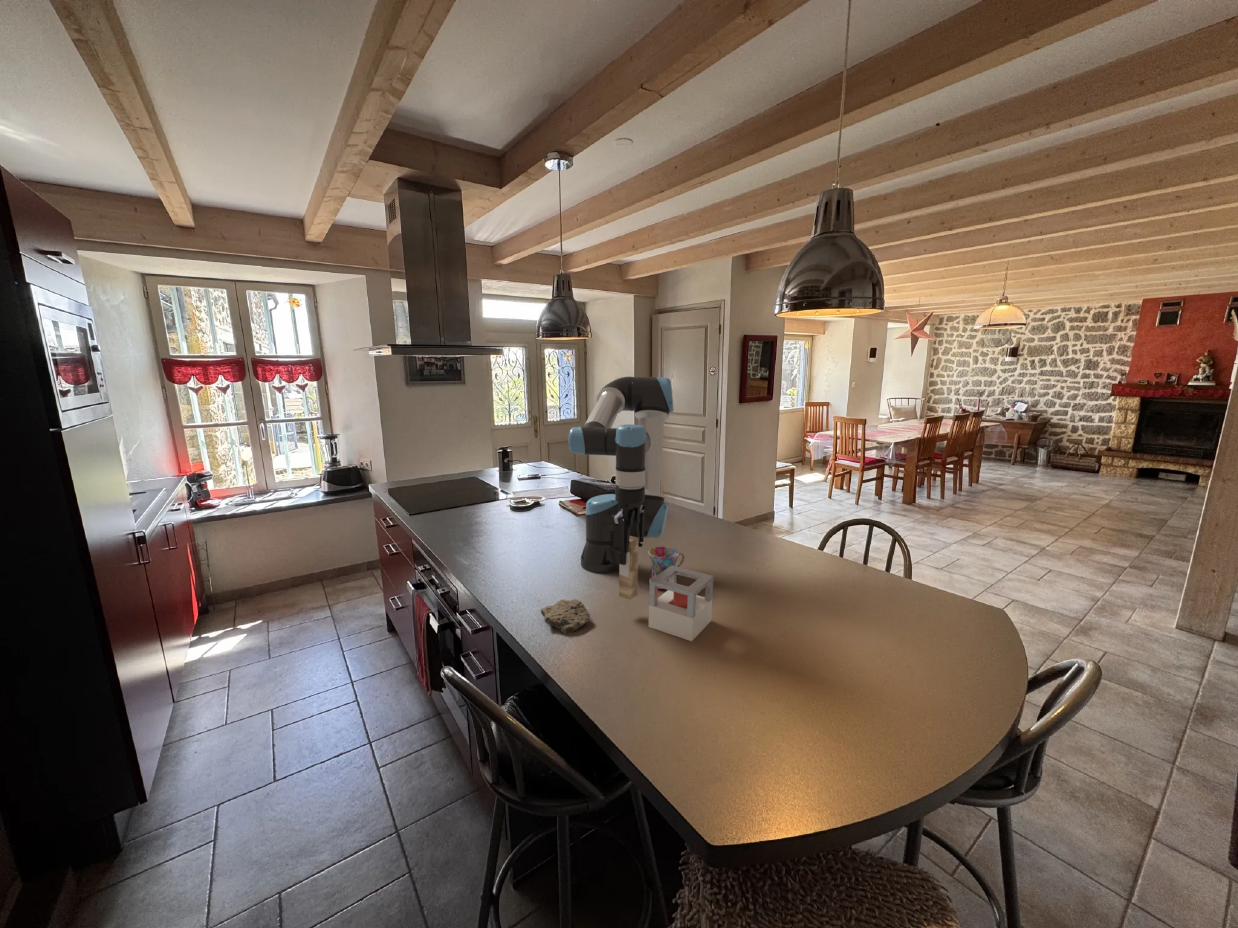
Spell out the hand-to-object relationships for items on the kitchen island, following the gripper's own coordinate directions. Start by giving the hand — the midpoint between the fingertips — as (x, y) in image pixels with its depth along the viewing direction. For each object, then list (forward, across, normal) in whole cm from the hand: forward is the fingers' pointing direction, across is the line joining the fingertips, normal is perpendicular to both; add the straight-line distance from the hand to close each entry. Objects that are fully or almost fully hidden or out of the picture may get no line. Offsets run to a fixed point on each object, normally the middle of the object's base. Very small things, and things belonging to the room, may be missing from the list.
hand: (628, 572), depth 129 cm
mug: (+12, -22, 0) cm, 25 cm away
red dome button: (+10, -3, +14) cm, 18 cm away
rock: (+12, +13, -11) cm, 21 cm away
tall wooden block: (+7, 0, 0) cm, 7 cm away
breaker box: (+12, -3, +14) cm, 19 cm away
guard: (+6, -3, +14) cm, 15 cm away
